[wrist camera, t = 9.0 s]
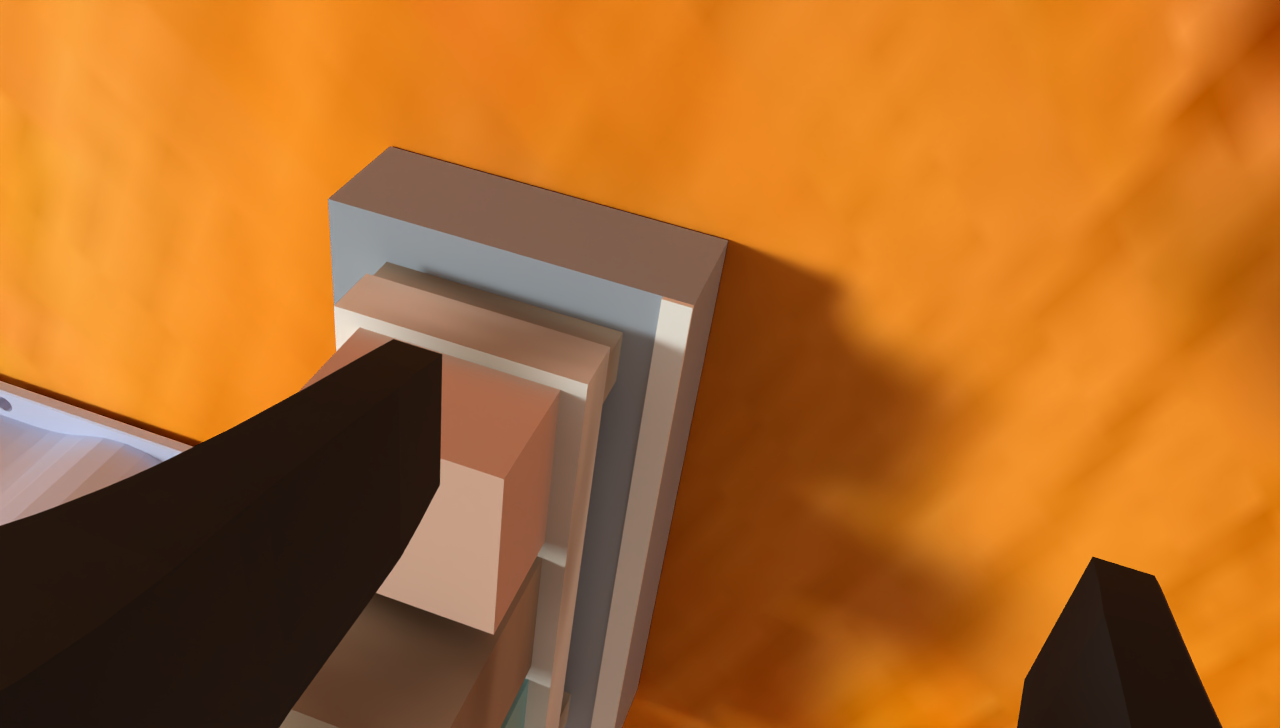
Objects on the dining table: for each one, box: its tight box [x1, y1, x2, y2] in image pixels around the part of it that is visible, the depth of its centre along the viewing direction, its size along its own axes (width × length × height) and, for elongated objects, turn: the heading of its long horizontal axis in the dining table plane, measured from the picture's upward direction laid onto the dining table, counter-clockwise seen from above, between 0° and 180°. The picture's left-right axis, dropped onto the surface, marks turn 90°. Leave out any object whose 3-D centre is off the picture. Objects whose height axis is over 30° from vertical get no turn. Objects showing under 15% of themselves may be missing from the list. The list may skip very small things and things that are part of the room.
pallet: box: [279, 262, 623, 728], centre depth 23 cm, size 5×13×7 cm, turn 173°
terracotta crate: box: [300, 327, 560, 635], centre depth 21 cm, size 4×4×2 cm
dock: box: [328, 146, 728, 728], centre depth 27 cm, size 8×15×3 cm, turn 173°
